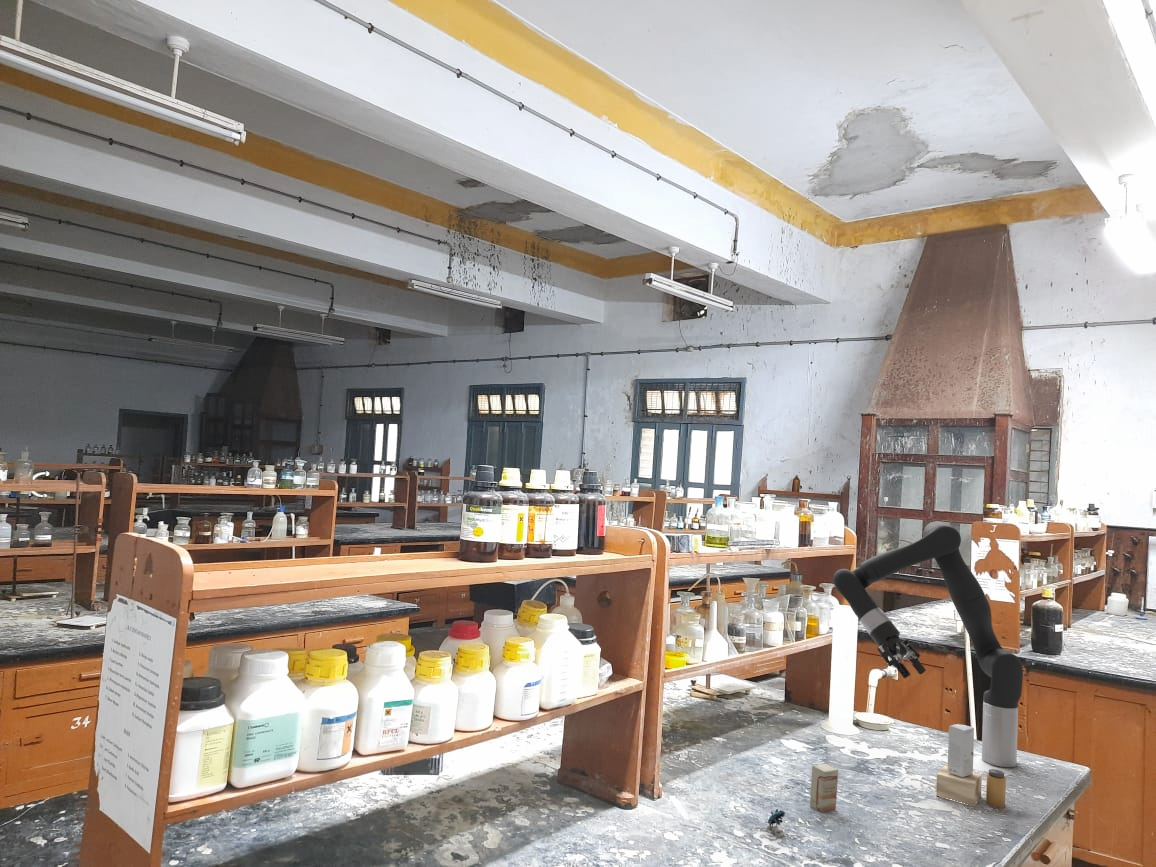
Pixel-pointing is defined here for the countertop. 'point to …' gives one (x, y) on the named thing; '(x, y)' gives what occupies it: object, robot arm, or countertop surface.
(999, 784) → the amber jar
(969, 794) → the beech block
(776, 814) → the sculpture
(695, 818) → the countertop surface
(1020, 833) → the countertop surface
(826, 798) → the skincare box
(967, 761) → the skincare box
